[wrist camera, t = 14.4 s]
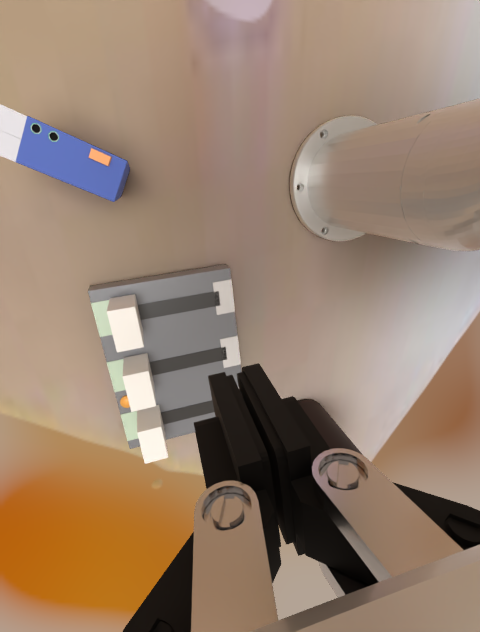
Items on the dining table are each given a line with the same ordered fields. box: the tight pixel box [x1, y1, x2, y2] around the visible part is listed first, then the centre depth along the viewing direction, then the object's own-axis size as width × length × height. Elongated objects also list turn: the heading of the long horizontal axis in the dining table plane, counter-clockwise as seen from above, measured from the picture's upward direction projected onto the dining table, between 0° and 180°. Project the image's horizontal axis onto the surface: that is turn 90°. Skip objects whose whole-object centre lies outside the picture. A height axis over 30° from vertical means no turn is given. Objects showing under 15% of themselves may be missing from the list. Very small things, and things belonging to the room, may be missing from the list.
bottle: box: [298, 400, 362, 455], centre depth 40 cm, size 7×7×20 cm
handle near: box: [107, 294, 144, 352], centre depth 34 cm, size 2×4×4 cm, turn 6°
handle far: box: [137, 405, 168, 464], centre depth 39 cm, size 2×4×4 cm, turn 6°
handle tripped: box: [122, 353, 156, 412], centre depth 36 cm, size 2×4×4 cm, turn 6°
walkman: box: [0, 104, 130, 202], centre depth 27 cm, size 8×3×12 cm, turn 67°
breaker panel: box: [88, 264, 241, 449], centre depth 40 cm, size 14×19×2 cm
